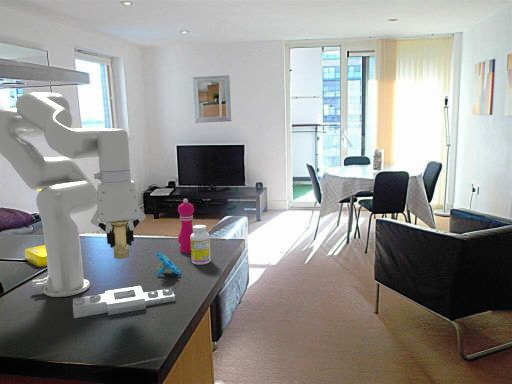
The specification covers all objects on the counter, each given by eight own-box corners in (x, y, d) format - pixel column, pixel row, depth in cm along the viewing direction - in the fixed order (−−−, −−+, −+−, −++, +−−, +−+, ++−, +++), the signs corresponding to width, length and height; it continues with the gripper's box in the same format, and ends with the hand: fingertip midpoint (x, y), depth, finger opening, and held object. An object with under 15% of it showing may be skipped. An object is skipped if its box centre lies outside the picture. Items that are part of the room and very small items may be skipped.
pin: (112, 260, 118) (109, 222, 116) (111, 255, 122) (108, 219, 120) (131, 257, 119) (129, 220, 118) (130, 253, 124) (127, 217, 122)
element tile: (24, 260, 166) (22, 247, 165) (64, 251, 177) (63, 239, 176) (39, 269, 156) (38, 255, 155) (82, 258, 166) (80, 246, 166)
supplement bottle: (194, 258, 161) (193, 223, 159) (212, 259, 160) (211, 224, 158) (189, 265, 155) (187, 228, 153) (208, 265, 154) (206, 228, 152)
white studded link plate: (73, 321, 114) (72, 307, 113) (74, 306, 123) (73, 293, 122) (176, 303, 123) (175, 290, 122) (170, 291, 132) (169, 279, 131)
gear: (184, 275, 142) (160, 255, 138) (171, 289, 141) (147, 270, 138) (179, 264, 152) (157, 246, 149) (167, 278, 152) (144, 259, 148)
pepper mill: (199, 251, 170) (197, 199, 167) (180, 254, 167) (177, 201, 164) (195, 246, 177) (192, 196, 173) (176, 249, 174) (173, 198, 171)
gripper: (81, 181, 111) (87, 253, 114) (150, 176, 117) (154, 245, 120) (81, 177, 118) (87, 245, 121) (146, 173, 123) (150, 238, 126)
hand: (120, 244), depth 120 cm, fingers closed on pin, 4 cm apart
